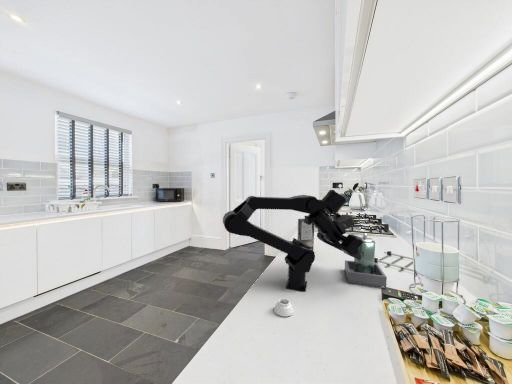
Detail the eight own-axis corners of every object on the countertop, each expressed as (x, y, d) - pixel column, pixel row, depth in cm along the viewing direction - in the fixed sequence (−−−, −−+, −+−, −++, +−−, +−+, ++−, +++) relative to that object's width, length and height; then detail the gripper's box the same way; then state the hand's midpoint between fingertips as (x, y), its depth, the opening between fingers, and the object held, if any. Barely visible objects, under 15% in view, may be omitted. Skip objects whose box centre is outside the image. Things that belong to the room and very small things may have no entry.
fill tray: (386, 289, 69) (386, 277, 69) (347, 283, 73) (348, 271, 73) (377, 274, 80) (377, 264, 80) (344, 270, 84) (344, 260, 84)
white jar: (274, 306, 59) (274, 317, 54) (274, 295, 59) (274, 306, 54) (291, 307, 59) (294, 318, 54) (292, 296, 59) (294, 307, 54)
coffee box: (313, 255, 100) (314, 221, 99) (300, 255, 100) (301, 221, 99) (309, 249, 109) (310, 218, 108) (296, 248, 109) (297, 218, 109)
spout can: (371, 281, 72) (373, 237, 71) (351, 276, 76) (353, 233, 75) (375, 275, 77) (377, 233, 76) (356, 270, 81) (358, 230, 80)
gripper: (359, 211, 64) (387, 245, 67) (325, 204, 82) (348, 231, 85) (335, 237, 62) (364, 271, 65) (305, 224, 80) (330, 251, 83)
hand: (351, 254), depth 75 cm, fingers open, 9 cm apart
